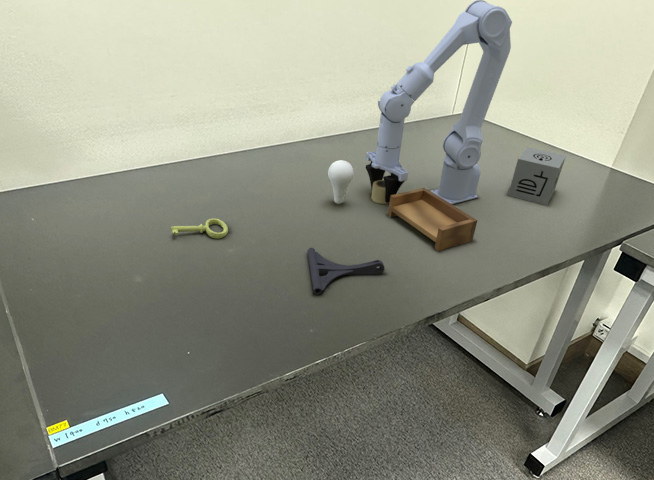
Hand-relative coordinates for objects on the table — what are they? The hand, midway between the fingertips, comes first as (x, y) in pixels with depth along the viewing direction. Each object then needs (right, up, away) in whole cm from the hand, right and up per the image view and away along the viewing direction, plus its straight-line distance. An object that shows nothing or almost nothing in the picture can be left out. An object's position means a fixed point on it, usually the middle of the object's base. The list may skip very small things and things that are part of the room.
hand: (382, 196), depth 134 cm
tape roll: (0, -1, 0) cm, 1 cm away
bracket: (-10, -21, -27) cm, 36 cm away
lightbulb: (-11, -2, -3) cm, 12 cm away
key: (-42, -11, -17) cm, 47 cm away
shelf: (+9, -9, -11) cm, 17 cm away
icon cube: (+40, +2, +7) cm, 41 cm away
